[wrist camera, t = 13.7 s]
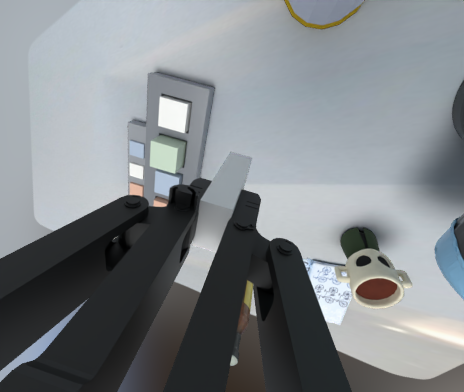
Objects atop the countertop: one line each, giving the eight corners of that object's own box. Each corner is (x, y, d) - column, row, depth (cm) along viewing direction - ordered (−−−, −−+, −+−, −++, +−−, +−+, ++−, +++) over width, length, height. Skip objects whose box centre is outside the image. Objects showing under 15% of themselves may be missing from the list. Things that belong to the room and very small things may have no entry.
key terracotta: (183, 197, 51) (175, 206, 47) (181, 214, 53) (173, 225, 50) (162, 190, 51) (153, 200, 48) (161, 208, 53) (152, 218, 50)
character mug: (392, 225, 45) (426, 279, 34) (384, 254, 48) (413, 313, 37) (329, 222, 47) (341, 273, 36) (325, 251, 50) (336, 305, 39)
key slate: (187, 169, 47) (179, 177, 44) (184, 189, 50) (176, 198, 46) (165, 163, 48) (155, 170, 44) (163, 183, 50) (154, 192, 47)
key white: (196, 100, 41) (187, 104, 37) (192, 127, 43) (184, 133, 40) (170, 93, 41) (159, 96, 38) (168, 120, 43) (158, 125, 40)
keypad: (214, 87, 39) (209, 89, 37) (188, 247, 58) (183, 256, 55) (134, 66, 40) (123, 66, 38) (133, 230, 59) (126, 238, 56)
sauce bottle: (224, 270, 59) (198, 355, 42) (239, 256, 56) (217, 342, 39) (245, 284, 60) (228, 373, 43) (261, 272, 57) (249, 362, 40)
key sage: (186, 141, 42) (177, 148, 39) (183, 165, 44) (175, 173, 41) (161, 134, 42) (150, 140, 39) (160, 158, 45) (149, 166, 41)
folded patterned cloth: (338, 320, 60) (339, 328, 58) (257, 302, 63) (256, 310, 61) (363, 264, 51) (366, 272, 49) (267, 247, 54) (266, 253, 52)
